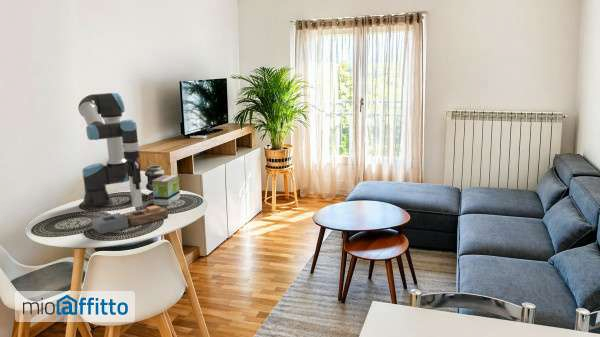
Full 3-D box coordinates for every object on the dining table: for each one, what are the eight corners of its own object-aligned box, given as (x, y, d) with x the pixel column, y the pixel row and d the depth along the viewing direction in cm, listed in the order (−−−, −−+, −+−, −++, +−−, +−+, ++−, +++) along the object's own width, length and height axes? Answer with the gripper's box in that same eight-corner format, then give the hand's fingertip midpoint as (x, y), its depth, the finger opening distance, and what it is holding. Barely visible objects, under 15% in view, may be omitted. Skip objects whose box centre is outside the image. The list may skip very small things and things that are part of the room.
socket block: (122, 221, 254) (122, 213, 253) (158, 212, 267) (158, 205, 266) (131, 226, 245) (130, 219, 244) (168, 217, 258) (167, 210, 257)
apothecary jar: (156, 198, 296) (153, 169, 292) (142, 195, 302) (139, 167, 298) (170, 193, 306) (168, 165, 302) (157, 191, 312) (154, 163, 308)
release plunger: (147, 216, 259) (146, 207, 258) (156, 214, 262) (155, 205, 261) (151, 218, 255) (150, 209, 254) (160, 216, 258) (159, 207, 257)
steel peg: (132, 205, 253) (128, 176, 249) (139, 203, 255) (136, 174, 251) (135, 207, 250) (131, 177, 246) (142, 205, 252) (139, 176, 248)
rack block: (92, 228, 245) (91, 219, 244) (120, 221, 253) (118, 212, 252) (100, 234, 236) (99, 224, 235) (128, 227, 244) (127, 218, 243)
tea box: (169, 205, 279) (167, 180, 276) (153, 205, 281) (151, 180, 278) (180, 198, 294) (178, 174, 290) (165, 197, 296) (163, 174, 292)
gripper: (117, 149, 249) (123, 192, 255) (130, 153, 237) (135, 199, 242) (132, 147, 254) (136, 189, 260) (144, 151, 241) (149, 196, 247)
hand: (136, 194), depth 251 cm, fingers closed on steel peg, 4 cm apart
